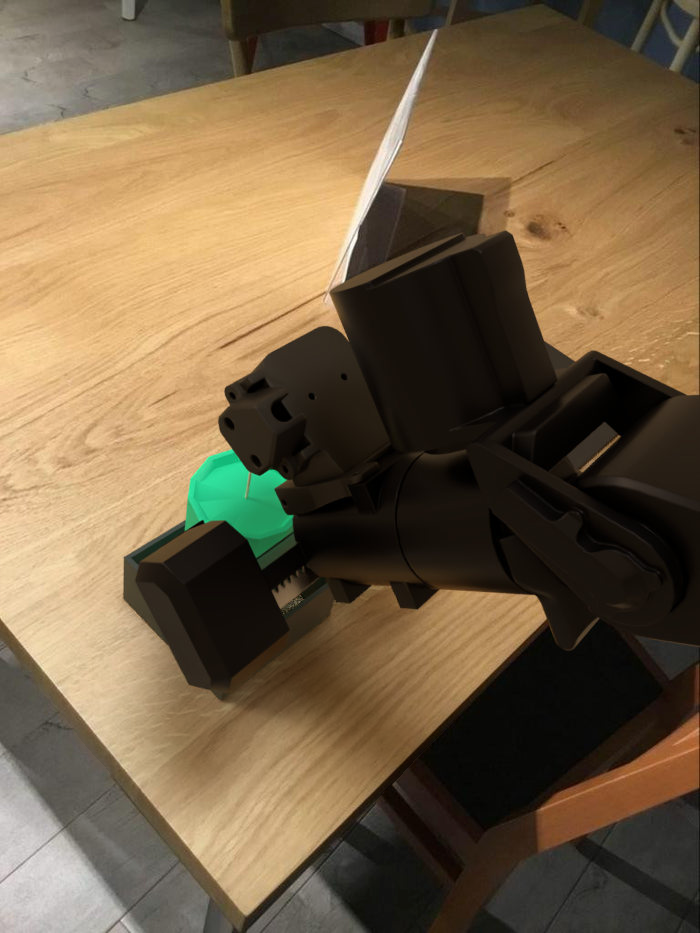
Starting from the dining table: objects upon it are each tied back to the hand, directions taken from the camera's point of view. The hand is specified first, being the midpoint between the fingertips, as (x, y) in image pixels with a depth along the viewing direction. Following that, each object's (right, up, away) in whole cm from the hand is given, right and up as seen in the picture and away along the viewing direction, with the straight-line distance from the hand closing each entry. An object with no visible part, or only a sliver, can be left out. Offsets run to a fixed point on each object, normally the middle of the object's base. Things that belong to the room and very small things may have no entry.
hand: (230, 522), depth 47 cm
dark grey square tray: (-1, -5, +5) cm, 7 cm away
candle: (-1, -5, +5) cm, 7 cm away
